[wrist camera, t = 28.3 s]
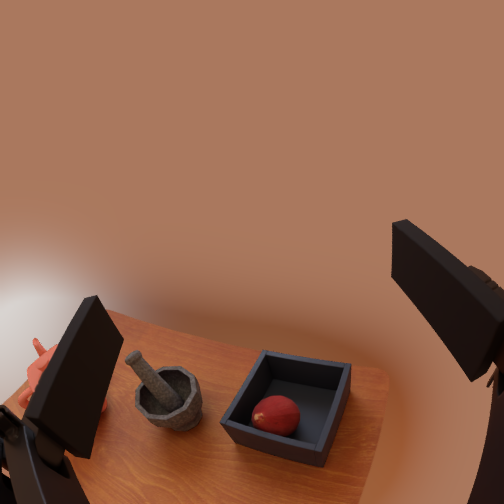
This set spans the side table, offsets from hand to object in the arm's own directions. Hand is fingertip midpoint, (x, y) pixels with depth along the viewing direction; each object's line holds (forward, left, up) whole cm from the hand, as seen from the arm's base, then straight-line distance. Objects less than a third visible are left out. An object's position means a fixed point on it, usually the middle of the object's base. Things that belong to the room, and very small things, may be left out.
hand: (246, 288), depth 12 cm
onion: (+9, -2, -29) cm, 30 cm away
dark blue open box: (+10, -2, -30) cm, 32 cm away
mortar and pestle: (+17, +14, -30) cm, 37 cm away
